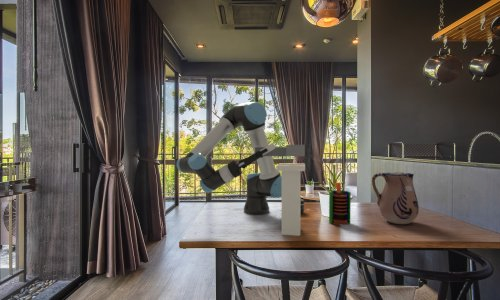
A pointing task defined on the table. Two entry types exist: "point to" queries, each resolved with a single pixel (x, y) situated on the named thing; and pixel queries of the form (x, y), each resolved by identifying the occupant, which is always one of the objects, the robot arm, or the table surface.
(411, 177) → the ceramic pitcher
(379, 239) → the table surface
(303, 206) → the jar
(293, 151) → the bar
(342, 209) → the motor
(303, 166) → the stand
